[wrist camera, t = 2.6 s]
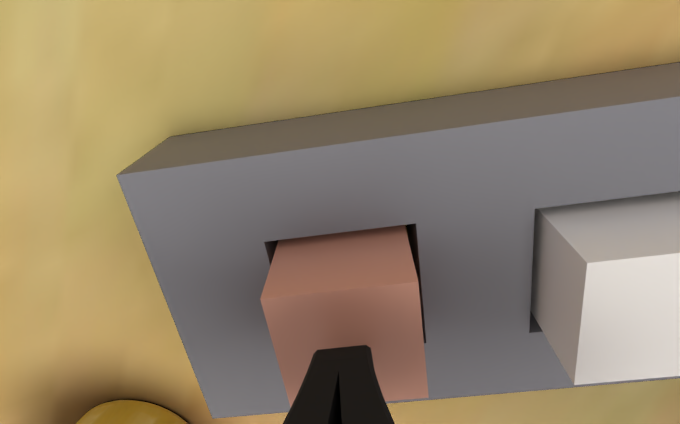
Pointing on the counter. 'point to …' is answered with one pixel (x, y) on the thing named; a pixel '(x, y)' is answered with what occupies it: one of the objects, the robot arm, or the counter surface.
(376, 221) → the key panel
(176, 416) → the plant pot
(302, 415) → the robot arm
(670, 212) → the white key
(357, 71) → the counter surface
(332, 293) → the terracotta key
